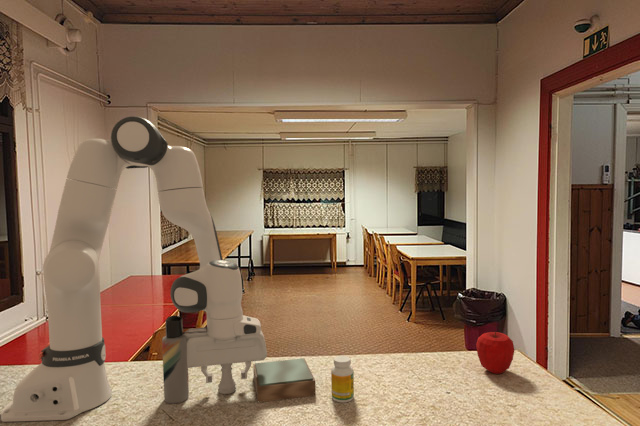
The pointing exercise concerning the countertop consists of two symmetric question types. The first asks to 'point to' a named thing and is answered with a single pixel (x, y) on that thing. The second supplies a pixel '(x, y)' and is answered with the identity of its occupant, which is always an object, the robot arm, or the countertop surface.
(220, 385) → the rook chess piece
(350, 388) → the supplement bottle
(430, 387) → the countertop surface
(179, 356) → the lotion bottle
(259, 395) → the walnut plinth
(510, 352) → the apple
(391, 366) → the countertop surface
